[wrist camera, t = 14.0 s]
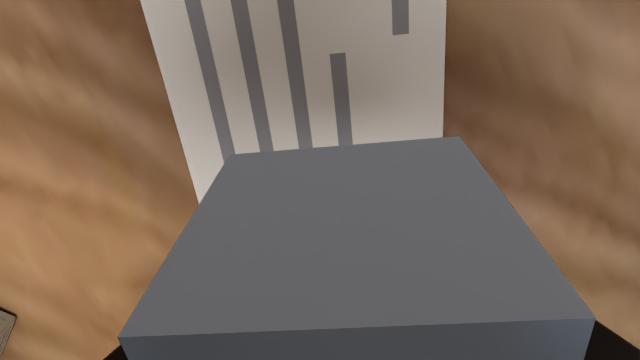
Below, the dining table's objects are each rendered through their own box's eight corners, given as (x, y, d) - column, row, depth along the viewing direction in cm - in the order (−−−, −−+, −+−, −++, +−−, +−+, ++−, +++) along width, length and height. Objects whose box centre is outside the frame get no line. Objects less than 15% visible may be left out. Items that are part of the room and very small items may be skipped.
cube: (459, 136, 8) (596, 318, 4) (449, 309, 11) (527, 548, 6) (229, 154, 9) (117, 336, 4) (266, 317, 11) (218, 546, 7)
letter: (449, -145, 14) (450, -147, 14) (439, 237, 22) (439, 240, 22) (115, -93, 16) (112, -94, 16) (214, 250, 23) (213, 253, 23)
